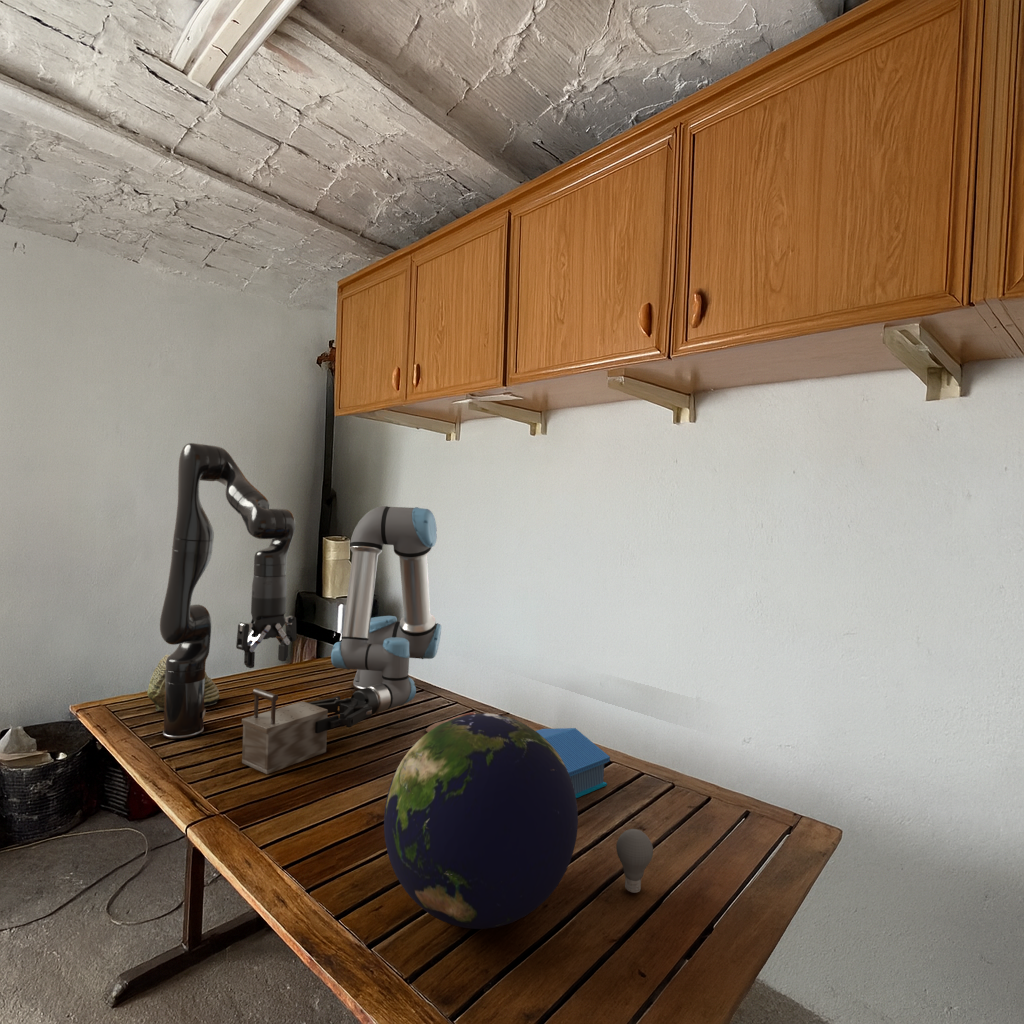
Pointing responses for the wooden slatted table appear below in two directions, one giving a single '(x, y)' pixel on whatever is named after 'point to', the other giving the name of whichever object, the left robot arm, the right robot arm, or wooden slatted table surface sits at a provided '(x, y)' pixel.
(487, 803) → the globe
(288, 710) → the lid
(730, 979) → the wooden slatted table surface
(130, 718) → the wooden slatted table surface
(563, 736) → the model building
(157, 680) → the fossil
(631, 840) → the light bulb
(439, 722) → the anatomical model
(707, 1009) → the wooden slatted table surface
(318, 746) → the chest
